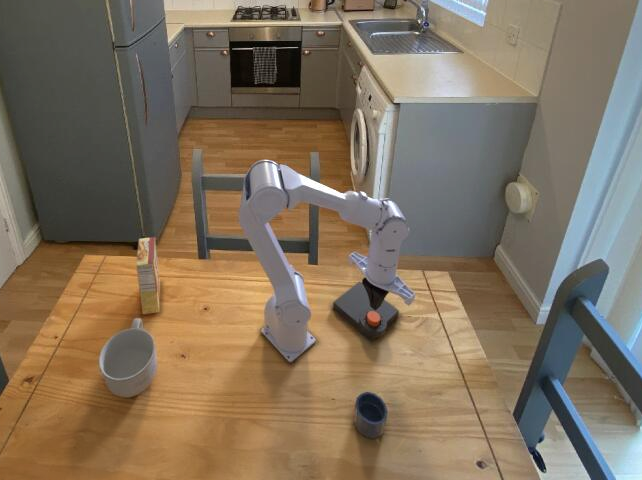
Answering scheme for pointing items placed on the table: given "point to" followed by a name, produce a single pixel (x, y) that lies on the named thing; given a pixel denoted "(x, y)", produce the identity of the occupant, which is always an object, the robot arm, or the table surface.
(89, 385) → the table surface
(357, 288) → the scale
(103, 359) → the teacup
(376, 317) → the tare button
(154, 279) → the candy box
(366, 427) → the cup
